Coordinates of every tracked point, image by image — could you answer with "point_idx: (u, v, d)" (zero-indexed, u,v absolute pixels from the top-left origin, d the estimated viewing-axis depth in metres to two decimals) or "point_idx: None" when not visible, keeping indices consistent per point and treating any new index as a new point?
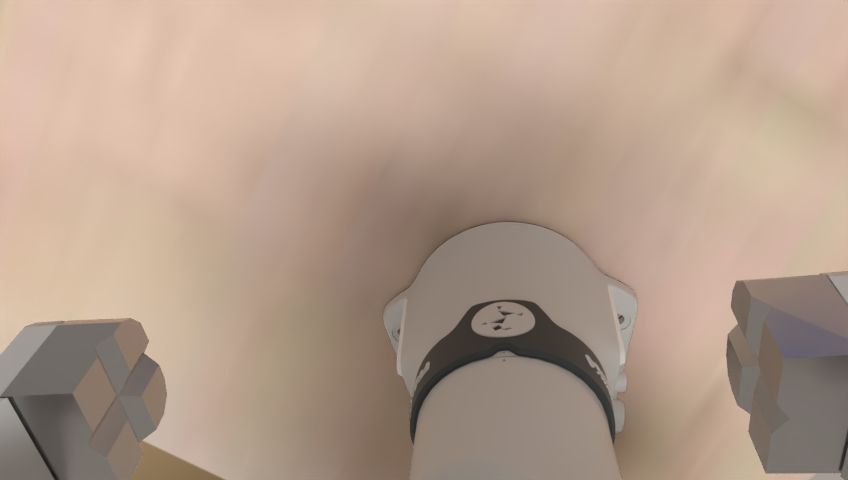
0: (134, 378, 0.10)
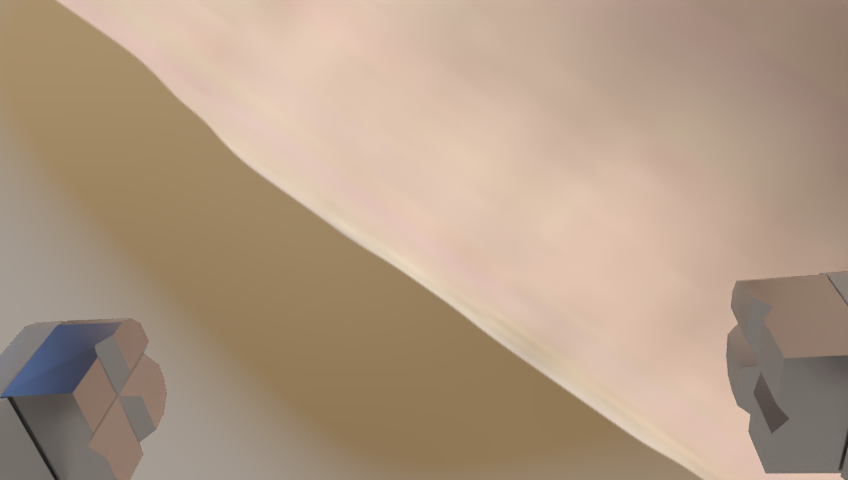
0: (134, 378, 0.10)
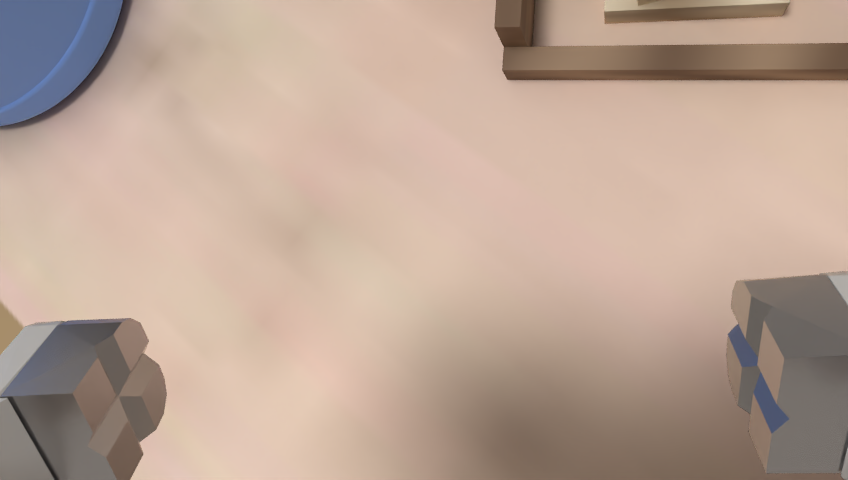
0: (134, 378, 0.10)
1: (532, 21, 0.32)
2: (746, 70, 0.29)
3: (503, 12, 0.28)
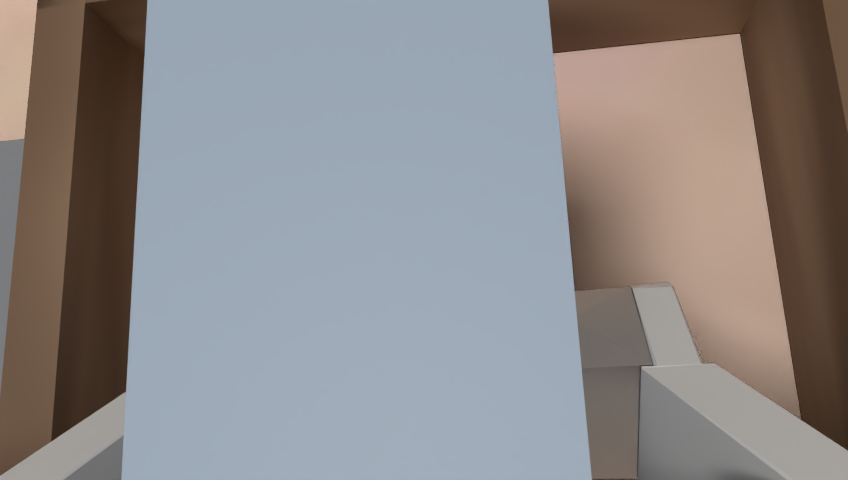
0: None
1: None
2: None
3: None
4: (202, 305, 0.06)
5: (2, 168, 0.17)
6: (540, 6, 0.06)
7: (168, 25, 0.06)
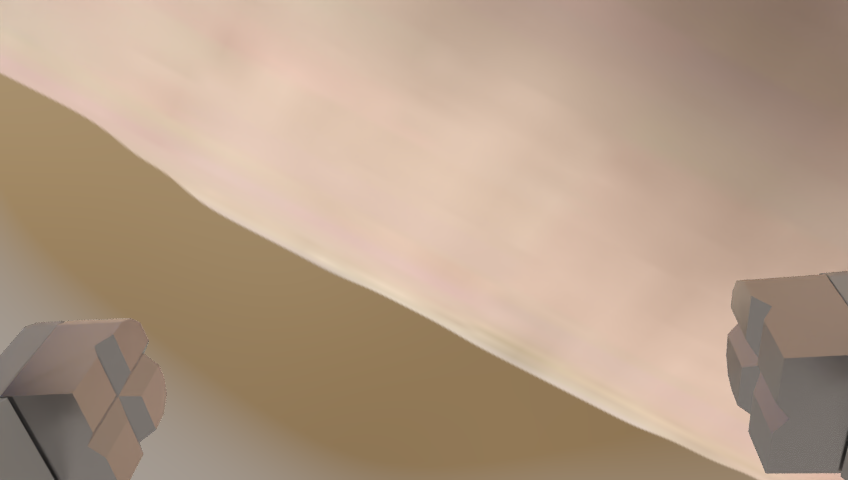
0: (134, 378, 0.10)
1: None
2: None
3: None
4: None
5: None
6: None
7: None
